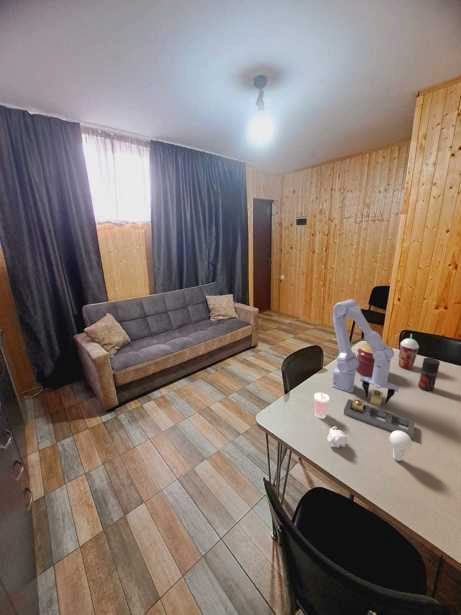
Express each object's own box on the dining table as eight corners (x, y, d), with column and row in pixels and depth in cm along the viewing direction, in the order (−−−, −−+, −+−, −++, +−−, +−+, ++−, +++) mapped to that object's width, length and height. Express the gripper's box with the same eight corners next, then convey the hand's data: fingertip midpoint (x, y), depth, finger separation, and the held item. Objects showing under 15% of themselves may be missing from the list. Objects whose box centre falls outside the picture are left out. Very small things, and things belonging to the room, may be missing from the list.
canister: (357, 363, 144) (361, 335, 139) (383, 370, 137) (387, 341, 132) (353, 373, 134) (356, 344, 129) (380, 381, 127) (385, 350, 122)
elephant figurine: (322, 438, 93) (323, 425, 92) (343, 436, 94) (344, 423, 92) (331, 453, 87) (332, 439, 85) (352, 451, 87) (354, 437, 86)
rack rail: (343, 413, 105) (344, 409, 104) (348, 403, 111) (348, 398, 110) (412, 439, 91) (413, 434, 90) (413, 426, 97) (414, 421, 97)
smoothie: (418, 370, 135) (425, 337, 129) (402, 370, 135) (409, 337, 129) (407, 362, 143) (413, 331, 137) (393, 363, 143) (398, 331, 137)
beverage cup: (316, 407, 109) (319, 380, 105) (330, 414, 105) (333, 386, 101) (310, 414, 105) (312, 386, 101) (323, 422, 101) (326, 392, 97)
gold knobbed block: (351, 413, 105) (352, 402, 104) (353, 408, 108) (354, 397, 107) (361, 417, 103) (362, 406, 101) (363, 412, 106) (364, 401, 104)
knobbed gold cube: (370, 403, 111) (371, 392, 110) (371, 398, 114) (373, 388, 113) (380, 406, 109) (382, 395, 107) (381, 401, 112) (383, 391, 110)
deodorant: (436, 392, 117) (442, 364, 112) (421, 391, 118) (427, 363, 114) (429, 385, 122) (435, 358, 118) (415, 384, 123) (421, 357, 119)
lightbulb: (382, 452, 86) (386, 427, 83) (398, 450, 87) (403, 425, 84) (394, 468, 80) (400, 441, 77) (412, 466, 81) (418, 439, 78)
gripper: (360, 372, 108) (356, 398, 112) (399, 383, 100) (394, 410, 104) (363, 365, 114) (359, 390, 118) (400, 375, 105) (395, 401, 109)
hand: (376, 399), depth 111 cm, fingers open, 7 cm apart
